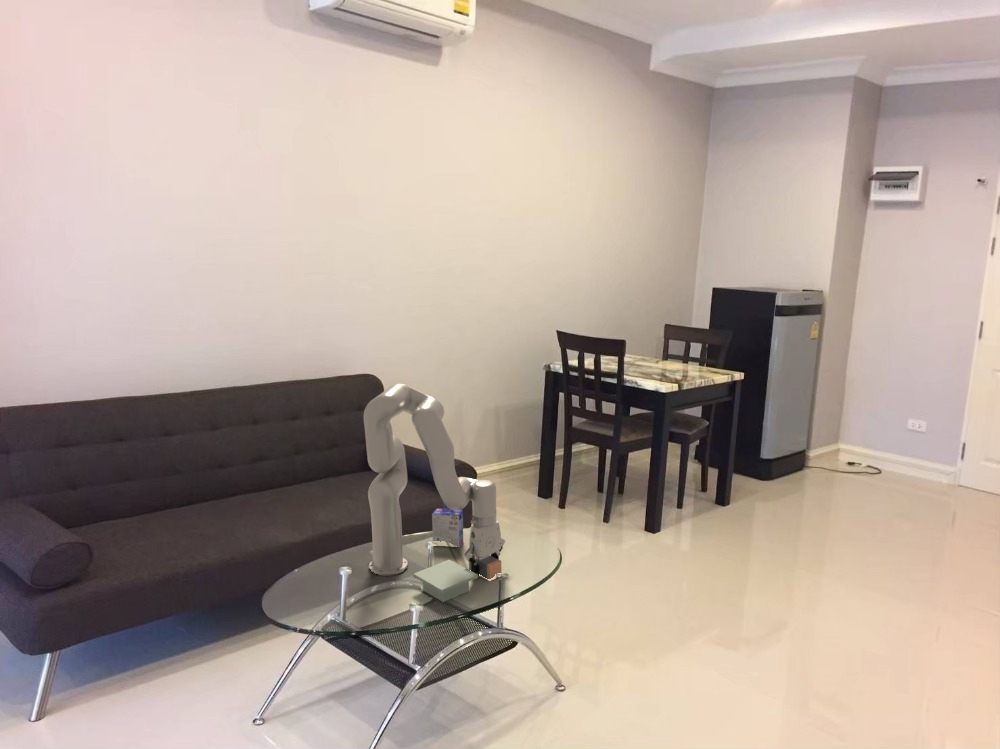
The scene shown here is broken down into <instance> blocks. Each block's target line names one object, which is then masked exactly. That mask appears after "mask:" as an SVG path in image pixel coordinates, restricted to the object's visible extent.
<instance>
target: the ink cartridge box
mask: <svg viewBox="0 0 1000 749" xmlns="http://www.w3.org/2000/svg"><path fill="white" fill-rule="evenodd" d="M463 512H464V511H463V509H461V510H458V511H455V510H452V509H450V508H448V507H447V506H446V505H445V503H444V502H443V505H442V508H436V509H435V510H434V511H433V513H431V520H432V522H431V525H432V526H431V527H432V542H433V541H440V542H441V541H445V542H449V543H451V544H453V545H455V546H457V547H459V548H458V549H460V548H461V547H462V545H463V544H464V514H463Z"/></svg>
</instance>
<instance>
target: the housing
mask: <svg viewBox="0 0 1000 749" xmlns="http://www.w3.org/2000/svg"><path fill="white" fill-rule="evenodd" d="M471 555H472V554H471ZM471 555H470V556H471ZM475 559H476V556H475V558H474V560H475ZM478 564H479V574H480V575H482V576H483V577H485V578H487V579H491V578H493V577H494V576H495V574H497V573H501V574H502V560H501V559H499V560H498V559H496V558H494V557H492V556H491V554H490V555H488V556H485V557H483V558H480V559H479V562H478ZM468 570H471V563H470V562H469V561H468Z"/></svg>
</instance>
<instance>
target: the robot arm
mask: <svg viewBox="0 0 1000 749" xmlns="http://www.w3.org/2000/svg"><path fill="white" fill-rule="evenodd" d="M403 412H405V413H407V414H409V415H411V422H412V424H413V426H414V429H415V431H416V433H417V436H418V437H419V440H420V441H421V443H422V446H423V447H424V450H425V452H426V455H427V456H428V460H429V465H430V469H431V473H432V476H433V477H432V478H433V481H434V484H435V487H436V489H437V491H438V492H437V493H439V495H440V498H441V499H442V501H443V504H444V503H445V505H446V506H445V507H446V508H450V509H452V510H455V511H458V510H463V509H465V508H466V507H467V505H468V504H469V501H471V502H472V503H471V505H472V506H471V507H472V509H471V510H472V511H471V512H472V520H470V524H471V525H470V530H469V547H468V549H467V550H466V551H465V552H464V554H463V557H464V558H465V559H466V560H467V561H468V563H469V562H470V563H471V571H472V572H474V573H476V574H478V577H479V564H478V562H479V559H480V558H483V557H485V556H488V555H490V556H492V557H494V558H496V559H498V560H500V555H501V552H502V550H503V548H504V547H503V546H504V545H505V543H506V540H505V539H504V538H502V535H501V534H502V532H501V527H500V523H499V520H497V486H496V483H495V482H494V481H492V480H489V479H475V478H471V477H465V476H459V477H458V475H457V472H456V467H455V446H454V443H453V442H452V440H451V437H450V435H449V434H448V431H447V429H446V427H445V425H444V422H443V421H442V419H443V417H444V414H445V410H444V405H443V403H441V402H440V401H439V400H438V399H437V398H435V397H433V396H431V395H429V394H426V393H424V392H422V391H420V390H418V389H416V388H414V387H412V386H410V385H407V384H405V383H404V384H403V383H394V384H391V385H390V386H389V387H388V388H387V389H385V390H384V391H382V392H381V393H379V395H377V396H376V397H374V398H373V399H371V400H370V401H369V402H368V403H367V404H366V406H365V408H364V411H363V426H364V434H365V437H364V438H365V445H366V447H365V448H366V456H367V462H368V466H369V467H370V468H371V471H373V472H375V473H378V475H377V476H376V477H375V478H374V479H373V480H372V481H371V484H370V485H369V487H368V491H367V496H368V502H369V508H370V519H371V520H370V521H371V536H372V539H371V540H372V549H371V550H369V553H368V554H370V555H371V556H372V560H371V561H370V562H369V563H368V569H369V568H370V569H371V571H373V572H374V573H377V574H378V575H377V576H382V577H383V576H385V577H387V576H388V577H389V576H395V575H399V574H401V573H403V572H405V571H406V570H407V569H408V567H407V566H409V563H408V560H407V559H406V558H404V556H403V554H404V553H403V552H404V551H403V531H402V530H403V528H402V526H403V525H402V511H401V507H400V501H399V500H400V499H399V498H400V495H401V494H402V493H403V491H404V490H405V488H407V487H406V486H407V484H408V469H407V460H406V451H405V446H404V444H403V442H402V440H401V439H400V438H399V437H398V436H396V435H394V434H393V433H394V432H393V427H392V423H391V420H392V419H393V418H395V417H397V416H399V415H400V414H401V413H403ZM471 554H472V555H471ZM470 555H471V556H470ZM475 556H476V559H475V560H474V558H475ZM406 568H407V569H406ZM405 569H406V570H405ZM404 570H405V571H404ZM371 571H370V572H371ZM374 573H373V574H374Z"/></svg>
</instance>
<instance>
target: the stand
mask: <svg viewBox="0 0 1000 749" xmlns="http://www.w3.org/2000/svg"><path fill="white" fill-rule="evenodd" d="M413 578H415V579H417V580H418V581H420V582H421V583H422V591H424V592H425V593H427V594H429V595H430V596H432V597H433V598H436V599H437V600H439V601H440V602H442V603H445V602H447V601H450V600H452V599H454V598H457V597H458V596H461V595H464V594H466V593H467V592H469V591H470V581H474V580H476V579H478V578H479V576H478V574H476V573H474V572H472V571H470V570H469V568H466V567H464V566H463V565H460V564H459V563H457V562H455V561H453V560H452V559H447V560H444V561H442V562H439V563H437V564H434V565H433V566H432V565H431V566H428V567H427V568H425V569H422V570H420V571H417V572H414V573H413Z"/></svg>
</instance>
